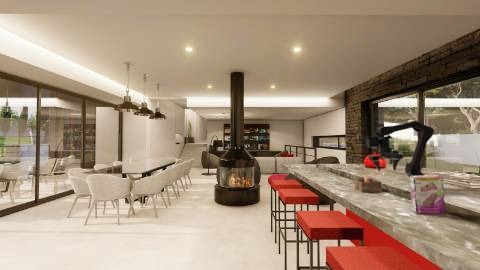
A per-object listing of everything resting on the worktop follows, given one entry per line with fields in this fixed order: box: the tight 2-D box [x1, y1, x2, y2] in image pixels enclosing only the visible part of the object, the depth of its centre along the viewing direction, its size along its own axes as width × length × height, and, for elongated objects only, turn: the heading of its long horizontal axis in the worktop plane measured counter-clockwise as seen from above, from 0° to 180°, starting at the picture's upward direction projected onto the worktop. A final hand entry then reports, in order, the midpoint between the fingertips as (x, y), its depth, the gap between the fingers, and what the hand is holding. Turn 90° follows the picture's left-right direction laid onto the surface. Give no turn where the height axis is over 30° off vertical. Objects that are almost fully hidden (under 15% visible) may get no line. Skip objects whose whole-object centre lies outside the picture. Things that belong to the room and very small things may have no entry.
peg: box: [364, 176, 371, 182], centre depth 165 cm, size 3×3×8 cm
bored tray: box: [353, 178, 383, 193], centre depth 165 cm, size 12×12×6 cm
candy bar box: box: [409, 174, 446, 215], centre depth 113 cm, size 11×5×16 cm, turn 74°
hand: (386, 170), depth 161 cm, fingers open, 9 cm apart
